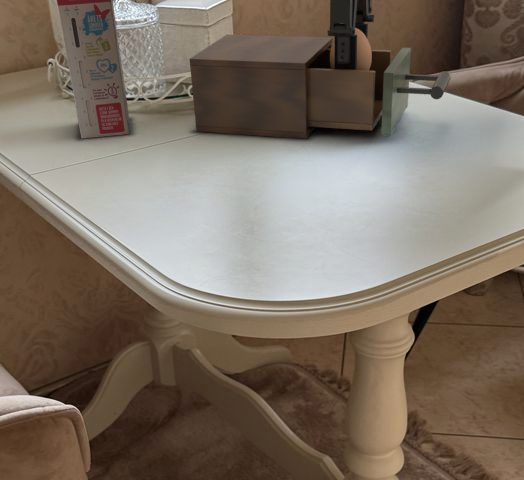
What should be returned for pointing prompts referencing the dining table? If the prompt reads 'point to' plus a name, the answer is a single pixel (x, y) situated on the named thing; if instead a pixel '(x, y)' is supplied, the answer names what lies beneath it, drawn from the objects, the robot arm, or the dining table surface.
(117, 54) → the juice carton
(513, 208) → the dining table surface
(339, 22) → the robot arm
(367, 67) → the egg
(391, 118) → the drawer
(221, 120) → the cabinet
